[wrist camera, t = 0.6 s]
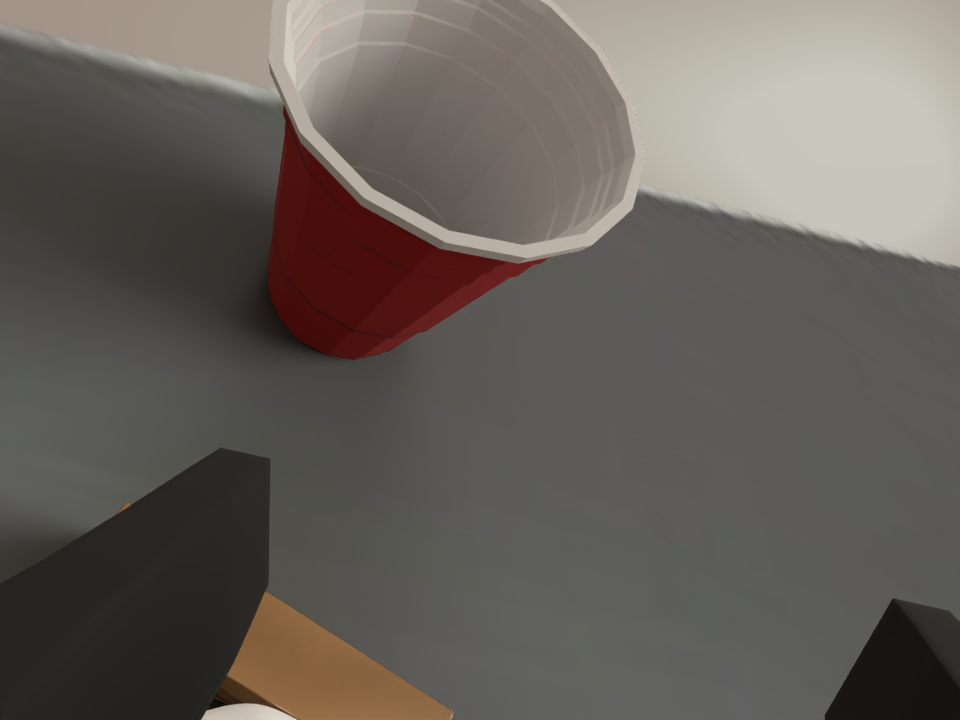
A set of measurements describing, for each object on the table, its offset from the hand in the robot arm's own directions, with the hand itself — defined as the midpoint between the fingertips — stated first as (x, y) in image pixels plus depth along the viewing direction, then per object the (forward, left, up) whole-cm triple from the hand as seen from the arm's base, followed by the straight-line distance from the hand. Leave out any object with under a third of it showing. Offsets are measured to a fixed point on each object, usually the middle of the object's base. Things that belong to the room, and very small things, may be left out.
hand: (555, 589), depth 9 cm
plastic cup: (+14, +5, -17) cm, 22 cm away
